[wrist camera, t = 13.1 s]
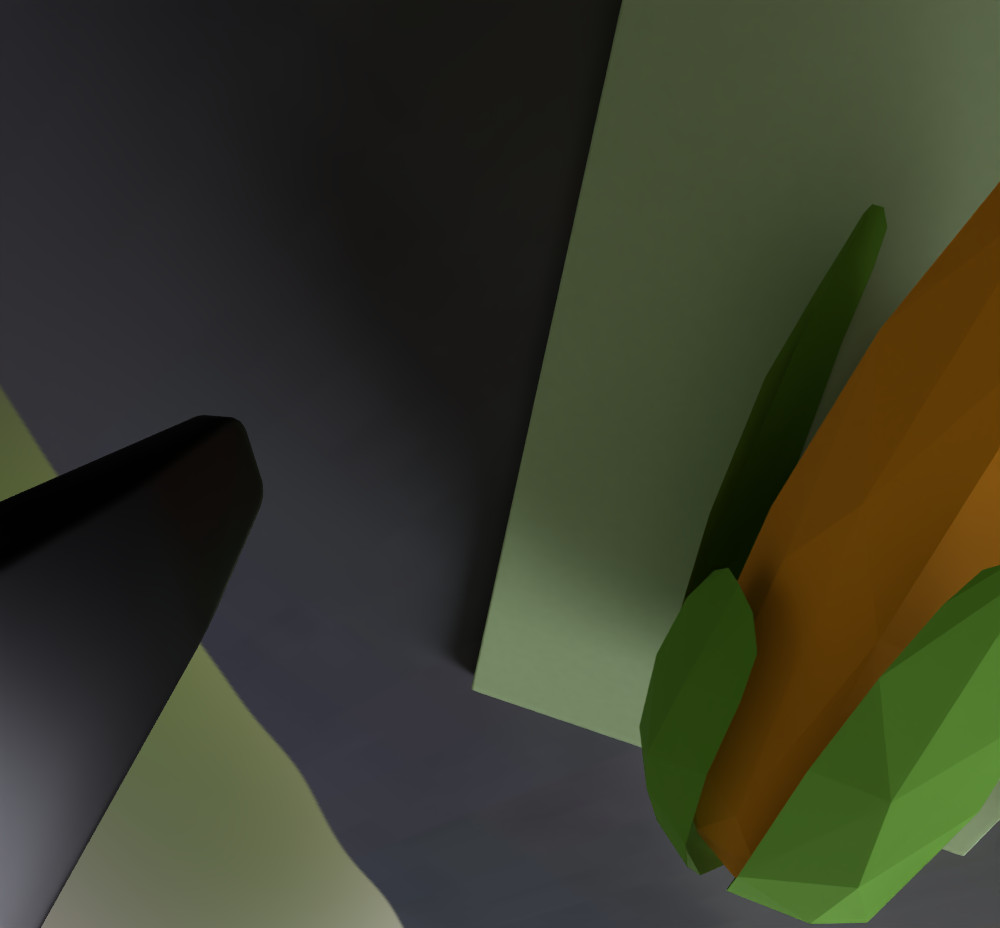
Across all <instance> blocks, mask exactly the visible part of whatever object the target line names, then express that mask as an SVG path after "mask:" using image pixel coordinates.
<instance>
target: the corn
mask: <svg viewBox="0 0 1000 928" xmlns="http://www.w3.org/2000/svg"><path fill="white" fill-rule="evenodd" d="M886 230H887V222H886V217H885V211H884V207H882V206H878V205H874V204H872V205H871V206H870V207H869V208H868V209H867V210H866V211H865V212H864V213H863V215H862V217H861V218H860V220H859V221H858V223H857V225H856V226H855V228H854V229H853V231H852V233H851V234H850V236H849V238H848V239H847V241H846V242H845V244H844V246H843V247H842V249H841V251H840V252H839V254H838V255H837V257H836V259H835V260H834V262H833V264H832V265H831V267H830V268H829V270H828V272H827V273H826V275H825V277H824V278H823V280H822V281H821V283H820V285H819V286H818V288H817V290H816V291H815V293H814V295H813V296H812V298H811V300H810V302H809V303H808V305H807V307H806V308H805V310H804V312H803V314H802V315H801V317H800V319H799V320H798V322H797V324H796V326H795V327H794V329H793V331H792V332H791V334H790V336H789V338H788V339H787V341H786V343H785V344H784V346H783V348H782V349H781V351H780V353H779V355H778V356H777V358H776V360H775V361H774V363H773V365H772V367H771V368H770V370H769V372H768V373H767V375H766V377H765V379H764V381H763V384H762V386H761V389H760V391H759V394H758V396H757V399H756V401H755V403H754V406H753V408H752V411H751V413H750V416H749V418H748V421H747V423H746V425H745V428H744V430H743V433H742V435H741V438H740V440H739V443H738V445H737V448H736V450H735V452H734V455H733V457H732V460H731V462H730V465H729V467H728V470H727V472H726V474H725V477H724V479H723V482H722V484H721V487H720V489H719V492H718V494H717V496H716V499H715V501H714V504H713V506H712V509H711V511H710V514H709V517H708V520H707V524H706V527H705V530H704V534H703V537H702V540H701V543H700V547H699V550H698V553H697V557H696V560H695V563H694V567H693V570H692V573H691V576H690V580H689V583H688V586H687V590H686V593H685V596H684V599H683V603H682V606H681V609H680V612H679V613H678V615H677V617H676V619H675V621H674V623H673V624H672V626H671V628H670V630H669V632H668V634H667V636H666V637H665V639H664V641H663V643H662V645H661V647H660V649H659V650H658V652H657V654H656V658H655V662H654V667H653V671H652V675H651V679H650V683H649V687H648V692H647V696H646V700H645V704H644V708H643V713H642V717H641V721H640V725H639V729H640V737H641V746H642V754H643V762H644V770H645V778H646V786H647V791H648V794H649V797H650V800H651V803H652V806H653V810H654V813H655V816H656V819H657V821H658V823H659V824H660V826H661V827H662V829H663V830H664V832H665V833H666V835H667V836H668V838H669V839H670V841H671V843H672V844H673V846H674V847H675V849H676V850H677V852H678V853H679V855H680V856H681V858H682V859H683V861H684V862H685V864H686V865H687V867H688V868H690V869H691V870H693V871H695V872H696V873H698V874H699V875H702V874H704V873H706V872H709V871H711V870H713V869H716V868H718V867H720V866H722V865H725V866H726V868H727V869H728V870H729V871H730V872H731V874H732V875H733V876H734V877H735V878H734V880H733V881H732V883H731V884H730V885H729V887H728V889H727V891H729V892H731V893H734V894H736V895H739V896H741V897H744V898H746V899H749V900H751V901H754V902H757V903H759V904H762V905H764V906H767V907H769V908H772V909H774V910H777V911H779V912H782V913H784V914H787V915H789V916H792V917H794V918H797V919H799V920H802V921H804V922H807V923H809V924H825V923H867V922H868V921H869V920H870V919H871V918H872V917H873V916H874V915H875V914H876V913H877V912H878V911H879V910H880V909H881V908H882V907H883V906H884V905H885V904H886V903H887V902H888V901H889V900H891V899H892V898H893V897H894V896H895V895H896V894H897V893H898V892H899V891H900V890H901V889H902V888H903V887H904V886H905V885H906V884H907V883H908V882H909V881H910V880H911V879H912V878H913V877H914V876H915V875H916V874H917V873H918V872H919V871H920V870H921V869H922V868H923V867H924V866H925V865H926V864H927V863H928V862H929V861H930V860H931V859H932V858H933V857H934V856H935V855H936V854H937V853H938V852H939V851H940V850H941V849H942V848H943V847H944V846H945V845H946V844H947V843H948V842H949V841H950V840H951V839H952V838H953V837H954V836H955V835H956V834H957V833H958V832H959V831H960V830H961V829H962V828H963V827H964V826H965V825H966V824H967V823H968V822H969V821H970V820H971V819H972V818H973V817H974V816H975V815H976V814H977V813H978V812H979V811H980V810H981V808H982V807H983V805H984V803H985V802H986V800H987V798H988V797H989V795H990V794H991V792H992V790H993V789H994V787H995V785H996V784H997V782H998V781H999V779H1000V182H999V183H998V184H997V185H996V187H995V188H994V189H993V190H992V192H991V193H990V194H989V195H988V197H987V198H986V199H985V200H984V202H983V203H982V204H981V205H980V206H979V208H978V209H977V210H976V211H975V213H974V214H973V215H972V216H971V218H970V219H969V220H968V221H967V222H966V224H965V225H964V226H963V227H962V229H961V230H960V231H959V232H958V234H957V235H956V236H955V237H954V239H953V240H952V241H951V242H950V243H949V245H948V246H947V247H946V248H945V250H944V251H943V252H942V253H941V255H940V256H939V257H938V258H937V259H936V261H935V262H934V263H933V264H932V266H931V267H930V268H929V269H928V271H927V272H926V273H925V274H924V275H923V277H922V278H921V279H920V280H919V282H918V283H917V284H916V285H915V287H914V288H913V289H912V290H911V292H910V293H909V294H908V295H907V296H906V298H905V299H904V300H903V301H902V303H901V304H900V305H899V306H898V308H897V309H896V310H895V311H894V312H893V314H892V315H891V316H890V317H889V319H888V320H887V321H886V322H885V324H884V325H883V326H882V327H881V329H880V330H879V332H878V333H877V335H876V336H875V338H874V340H873V341H872V343H871V345H870V346H869V348H868V349H867V351H866V353H865V354H864V356H863V358H862V359H861V361H860V363H859V364H858V366H857V367H856V369H855V371H854V372H853V374H852V376H851V377H850V379H849V380H848V382H847V384H846V385H845V387H844V389H843V390H842V392H841V394H840V395H839V397H838V398H837V400H836V402H835V403H834V405H833V407H832V408H831V410H830V411H829V413H828V415H827V416H826V418H825V420H824V421H823V423H822V425H821V426H820V428H819V429H818V431H817V433H816V434H815V436H814V438H813V439H812V441H811V442H810V444H809V446H808V447H807V449H806V451H805V452H804V454H803V456H802V457H801V459H800V460H799V458H800V455H801V453H802V450H803V447H804V444H805V442H806V439H807V436H808V434H809V431H810V428H811V425H812V423H813V420H814V417H815V415H816V412H817V409H818V406H819V404H820V401H821V398H822V396H823V393H824V390H825V387H826V385H827V382H828V379H829V377H830V374H831V371H832V368H833V366H834V363H835V360H836V358H837V355H838V352H839V349H840V347H841V344H842V342H843V339H844V337H845V335H846V332H847V330H848V328H849V325H850V323H851V321H852V318H853V316H854V313H855V311H856V309H857V306H858V304H859V302H860V299H861V297H862V295H863V292H864V290H865V287H866V285H867V283H868V280H869V278H870V276H871V273H872V271H873V269H874V266H875V263H876V260H877V257H878V254H879V251H880V248H881V245H882V242H883V239H884V236H885V233H886ZM798 461H799V462H798ZM797 463H798V464H797Z"/></svg>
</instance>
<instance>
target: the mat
mask: <svg viewBox="0 0 1000 928" xmlns="http://www.w3.org/2000/svg"><path fill="white" fill-rule="evenodd" d="M999 182H1000V0H622V3H621V8H620V13H619V17H618V22H617V26H616V31H615V35H614V40H613V45H612V49H611V54H610V58H609V63H608V67H607V72H606V76H605V81H604V86H603V90H602V95H601V99H600V104H599V108H598V113H597V118H596V122H595V127H594V131H593V136H592V140H591V145H590V150H589V154H588V159H587V163H586V168H585V172H584V177H583V181H582V186H581V191H580V195H579V200H578V204H577V209H576V213H575V218H574V223H573V227H572V232H571V236H570V241H569V245H568V250H567V255H566V259H565V264H564V268H563V273H562V277H561V282H560V286H559V291H558V296H557V300H556V305H555V309H554V314H553V318H552V323H551V328H550V332H549V337H548V341H547V346H546V350H545V355H544V359H543V364H542V369H541V373H540V378H539V382H538V387H537V391H536V396H535V401H534V405H533V410H532V414H531V419H530V423H529V428H528V433H527V437H526V442H525V446H524V451H523V455H522V460H521V464H520V469H519V474H518V478H517V483H516V487H515V492H514V496H513V501H512V506H511V510H510V515H509V519H508V524H507V528H506V533H505V537H504V542H503V547H502V551H501V556H500V560H499V565H498V569H497V574H496V579H495V583H494V588H493V592H492V597H491V601H490V606H489V611H488V615H487V620H486V624H485V629H484V633H483V638H482V642H481V647H480V652H479V656H478V661H477V665H476V670H475V674H474V679H473V684H472V690H474V691H477V692H480V693H483V694H486V695H489V696H492V697H495V698H498V699H501V700H504V701H506V702H509V703H512V704H515V705H518V706H521V707H524V708H527V709H530V710H533V711H536V712H539V713H542V714H545V715H548V716H551V717H554V718H557V719H560V720H563V721H566V722H569V723H571V724H574V725H577V726H580V727H583V728H586V729H589V730H592V731H595V732H598V733H601V734H604V735H607V736H610V737H613V738H616V739H619V740H622V741H625V742H628V743H631V744H634V745H636V746H639V747H642V746H641V737H640V729H639V725H640V721H641V717H642V713H643V708H644V704H645V700H646V696H647V692H648V687H649V683H650V679H651V675H652V671H653V667H654V662H655V658H656V654H657V652H658V650H659V649H660V647H661V645H662V643H663V641H664V639H665V637H666V636H667V634H668V632H669V630H670V628H671V626H672V624H673V623H674V621H675V619H676V617H677V615H678V613H679V612H680V609H681V606H682V603H683V599H684V596H685V593H686V590H687V586H688V583H689V580H690V576H691V573H692V570H693V567H694V563H695V560H696V557H697V553H698V550H699V547H700V543H701V540H702V537H703V534H704V530H705V527H706V524H707V520H708V517H709V514H710V511H711V509H712V506H713V504H714V501H715V499H716V496H717V494H718V492H719V489H720V487H721V484H722V482H723V479H724V477H725V474H726V472H727V470H728V467H729V465H730V462H731V460H732V457H733V455H734V452H735V450H736V448H737V445H738V443H739V440H740V438H741V435H742V433H743V430H744V428H745V425H746V423H747V421H748V418H749V416H750V413H751V411H752V408H753V406H754V403H755V401H756V399H757V396H758V394H759V391H760V389H761V386H762V384H763V381H764V379H765V377H766V375H767V373H768V372H769V370H770V368H771V367H772V365H773V363H774V361H775V360H776V358H777V356H778V355H779V353H780V351H781V349H782V348H783V346H784V344H785V343H786V341H787V339H788V338H789V336H790V334H791V332H792V331H793V329H794V327H795V326H796V324H797V322H798V320H799V319H800V317H801V315H802V314H803V312H804V310H805V308H806V307H807V305H808V303H809V302H810V300H811V298H812V296H813V295H814V293H815V291H816V290H817V288H818V286H819V285H820V283H821V281H822V280H823V278H824V277H825V275H826V273H827V272H828V270H829V268H830V267H831V265H832V264H833V262H834V260H835V259H836V257H837V255H838V254H839V252H840V251H841V249H842V247H843V246H844V244H845V242H846V241H847V239H848V238H849V236H850V234H851V233H852V231H853V229H854V228H855V226H856V225H857V223H858V221H859V220H860V218H861V217H862V215H863V213H864V212H865V211H866V210H867V209H868V208H869V207H870V206H871V205H872V204H874V205H878V206H882V207H884V211H885V217H886V222H887V230H886V233H885V236H884V239H883V242H882V245H881V248H880V251H879V254H878V257H877V260H876V263H875V266H874V269H873V271H872V273H871V276H870V278H869V280H868V283H867V285H866V287H865V290H864V292H863V295H862V297H861V299H860V302H859V304H858V306H857V309H856V311H855V313H854V316H853V318H852V321H851V323H850V325H849V328H848V330H847V332H846V335H845V337H844V339H843V342H842V344H841V347H840V349H839V352H838V355H837V358H836V360H835V363H834V366H833V368H832V371H831V374H830V377H829V379H828V382H827V385H826V387H825V390H824V393H823V396H822V398H821V401H820V404H819V406H818V409H817V412H816V415H815V417H814V420H813V423H812V425H811V428H810V431H809V434H808V436H807V439H806V442H805V444H804V447H803V450H802V453H801V455H800V458H799V460H800V459H801V457H802V456H803V454H804V452H805V451H806V449H807V447H808V446H809V444H810V442H811V441H812V439H813V438H814V436H815V434H816V433H817V431H818V429H819V428H820V426H821V425H822V423H823V421H824V420H825V418H826V416H827V415H828V413H829V411H830V410H831V408H832V407H833V405H834V403H835V402H836V400H837V398H838V397H839V395H840V394H841V392H842V390H843V389H844V387H845V385H846V384H847V382H848V380H849V379H850V377H851V376H852V374H853V372H854V371H855V369H856V367H857V366H858V364H859V363H860V361H861V359H862V358H863V356H864V354H865V353H866V351H867V349H868V348H869V346H870V345H871V343H872V341H873V340H874V338H875V336H876V335H877V333H878V332H879V330H880V329H881V327H882V326H883V325H884V324H885V322H886V321H887V320H888V319H889V317H890V316H891V315H892V314H893V312H894V311H895V310H896V309H897V308H898V306H899V305H900V304H901V303H902V301H903V300H904V299H905V298H906V296H907V295H908V294H909V293H910V292H911V290H912V289H913V288H914V287H915V285H916V284H917V283H918V282H919V280H920V279H921V278H922V277H923V275H924V274H925V273H926V272H927V271H928V269H929V268H930V267H931V266H932V264H933V263H934V262H935V261H936V259H937V258H938V257H939V256H940V255H941V253H942V252H943V251H944V250H945V248H946V247H947V246H948V245H949V243H950V242H951V241H952V240H953V239H954V237H955V236H956V235H957V234H958V232H959V231H960V230H961V229H962V227H963V226H964V225H965V224H966V222H967V221H968V220H969V219H970V218H971V216H972V215H973V214H974V213H975V211H976V210H977V209H978V208H979V206H980V205H981V204H982V203H983V202H984V200H985V199H986V198H987V197H988V195H989V194H990V193H991V192H992V190H993V189H994V188H995V187H996V185H997V184H998V183H999ZM798 462H799V461H798ZM797 464H798V463H797ZM999 820H1000V779H999V781H998V782H997V784H996V785H995V787H994V789H993V790H992V792H991V794H990V795H989V797H988V798H987V800H986V802H985V803H984V805H983V807H982V808H981V810H980V811H979V812H978V813H977V814H976V815H975V816H974V817H973V818H972V819H971V820H970V821H969V822H968V823H967V824H966V825H965V826H964V827H963V828H962V829H961V830H960V831H959V832H958V833H957V834H956V835H955V836H954V837H953V838H952V839H951V840H950V841H949V842H948V843H947V844H946V845H945V846H944V847H943V848H942V849H944V850H947V851H950V852H953V853H956V854H958V855H961V856H964V855H965V854H966V853H967V852H968V851H969V850H970V849H971V848H972V847H973V846H974V845H975V844H976V843H977V842H978V841H979V840H980V839H981V838H982V837H983V836H984V835H985V834H986V833H987V832H988V831H989V830H990V829H991V828H992V827H993V826H994V825H995V824H996V823H997V822H998V821H999Z"/></svg>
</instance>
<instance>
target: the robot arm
mask: <svg viewBox="0 0 1000 928" xmlns="http://www.w3.org/2000/svg"><path fill="white" fill-rule="evenodd" d="M262 498H263V483H262V479H261V476H260V473H259V470H258V466H257V463H256V460H255V457H254V454H253V451H252V448H251V444H250V441H249V438H248V435H247V432H246V430H245V427H244V426H243V425H242V423H241V422H240V421H239V420H237V419H235V418H233V417H222V416H210V415H201V416H196V417H194V418H191V419H189V420H187V421H185V422H182V423H180V424H178V425H175V426H173V427H171V428H168V429H166V430H164V431H162V432H159V433H157V434H155V435H152V436H150V437H148V438H145V439H143V440H141V441H139V442H136V443H134V444H132V445H129V446H127V447H125V448H123V449H120V450H118V451H116V452H113V453H111V454H109V455H106V456H104V457H102V458H100V459H97V460H95V461H93V462H90V463H88V464H86V465H83V466H81V467H79V468H77V469H74V470H72V471H70V472H67V473H65V474H63V475H60V476H58V477H56V478H54V479H51V480H49V481H47V482H45V483H42V484H40V485H38V486H35V487H33V488H31V489H28V490H26V491H24V492H21V493H19V494H17V495H15V496H12V497H10V498H8V499H5V500H3V501H1V502H0V928H41V926H42V925H43V923H44V921H45V919H46V917H47V916H48V914H49V912H50V910H51V908H52V907H53V905H54V903H55V901H56V900H57V898H58V896H59V894H60V892H61V891H62V889H63V887H64V885H65V883H66V882H67V880H68V878H69V876H70V875H71V873H72V871H73V869H74V867H75V866H76V864H77V862H78V860H79V858H80V857H81V855H82V853H83V851H84V849H85V848H86V846H87V844H88V842H89V841H90V839H91V837H92V835H93V833H94V832H95V830H96V828H97V826H98V825H99V823H100V821H101V819H102V817H103V816H104V814H105V812H106V810H107V808H108V807H109V805H110V803H111V801H112V800H113V798H114V796H115V794H116V792H117V791H118V789H119V787H120V785H121V783H122V782H123V780H124V778H125V776H126V775H127V773H128V771H129V769H130V767H131V766H132V764H133V762H134V760H135V758H136V757H137V755H138V753H139V751H140V750H141V748H142V746H143V744H144V742H145V741H146V739H147V737H148V735H149V733H150V732H151V730H152V728H153V726H154V725H155V723H156V721H157V719H158V717H159V716H160V714H161V712H162V710H163V708H164V706H165V705H166V703H167V701H168V700H169V698H170V696H171V694H172V692H173V691H174V689H175V687H176V685H177V683H178V681H179V680H180V678H181V676H182V675H183V673H184V671H185V669H186V667H187V666H188V664H189V662H190V660H191V658H192V657H193V655H194V653H195V651H196V649H197V648H198V646H199V644H200V642H201V640H202V638H203V636H204V634H205V632H206V631H207V629H208V627H209V624H210V622H211V620H212V618H213V616H214V614H215V612H216V609H217V607H218V605H219V603H220V600H221V598H222V596H223V593H224V591H225V589H226V586H227V584H228V582H229V579H230V577H231V575H232V572H233V570H234V568H235V565H236V563H237V561H238V558H239V556H240V554H241V551H242V549H243V547H244V544H245V542H246V540H247V537H248V535H249V533H250V530H251V528H252V526H253V523H254V521H255V519H256V516H257V514H258V512H259V509H260V506H261V503H262Z"/></svg>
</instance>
